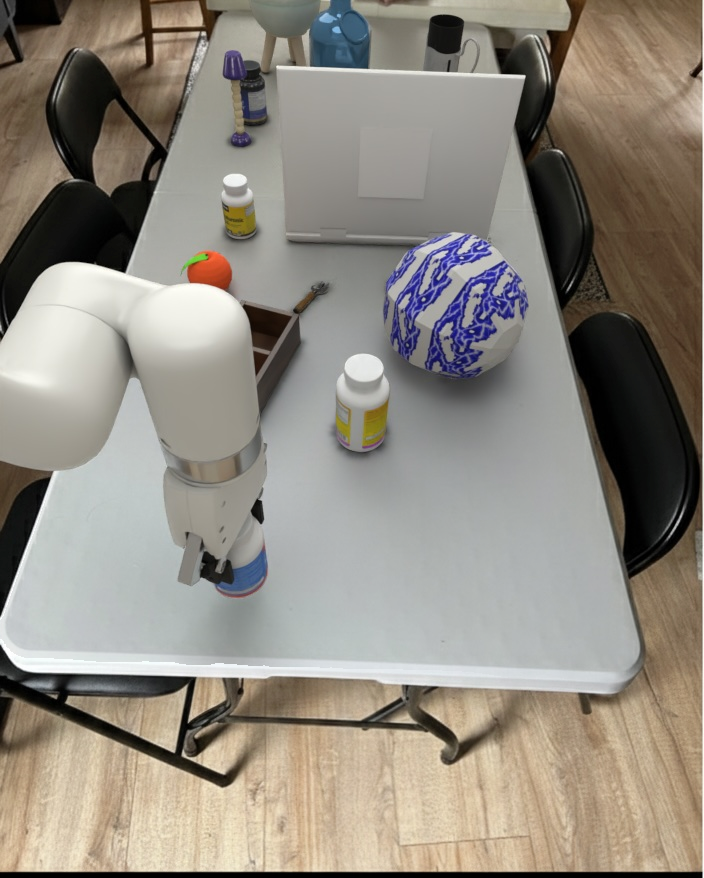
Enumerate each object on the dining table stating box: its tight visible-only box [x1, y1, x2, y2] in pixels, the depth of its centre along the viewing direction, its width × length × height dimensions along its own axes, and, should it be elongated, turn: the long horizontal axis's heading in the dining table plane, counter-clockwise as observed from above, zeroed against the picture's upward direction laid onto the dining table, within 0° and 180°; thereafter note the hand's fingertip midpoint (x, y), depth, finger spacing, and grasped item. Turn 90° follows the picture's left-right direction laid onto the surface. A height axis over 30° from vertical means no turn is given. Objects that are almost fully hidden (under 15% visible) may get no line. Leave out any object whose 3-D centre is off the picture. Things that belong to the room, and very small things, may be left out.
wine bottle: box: [308, 0, 372, 69], centre depth 129 cm, size 14×13×30 cm
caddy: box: [239, 299, 301, 415], centre depth 87 cm, size 9×17×6 cm, turn 161°
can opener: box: [292, 280, 330, 314], centre depth 99 cm, size 9×2×1 cm, turn 144°
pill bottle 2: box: [239, 59, 268, 126], centre depth 131 cm, size 6×6×11 cm
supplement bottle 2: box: [335, 353, 391, 453], centre depth 78 cm, size 7×7×13 cm
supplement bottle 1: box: [220, 173, 257, 240], centre depth 106 cm, size 5×5×10 cm
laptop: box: [275, 65, 526, 247], centre depth 105 cm, size 35×26×28 cm
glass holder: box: [422, 13, 481, 73], centre depth 138 cm, size 9×14×15 cm, turn 43°
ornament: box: [382, 232, 529, 380], centre depth 86 cm, size 20×20×20 cm
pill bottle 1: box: [204, 511, 269, 600], centre depth 62 cm, size 6×6×11 cm
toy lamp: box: [222, 49, 252, 147], centre depth 123 cm, size 5×5×17 cm
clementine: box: [180, 250, 233, 291], centre depth 97 cm, size 8×7×7 cm
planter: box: [248, 0, 321, 74], centre depth 142 cm, size 16×16×22 cm
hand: (234, 546), depth 61 cm, fingers closed on pill bottle 1, 6 cm apart
